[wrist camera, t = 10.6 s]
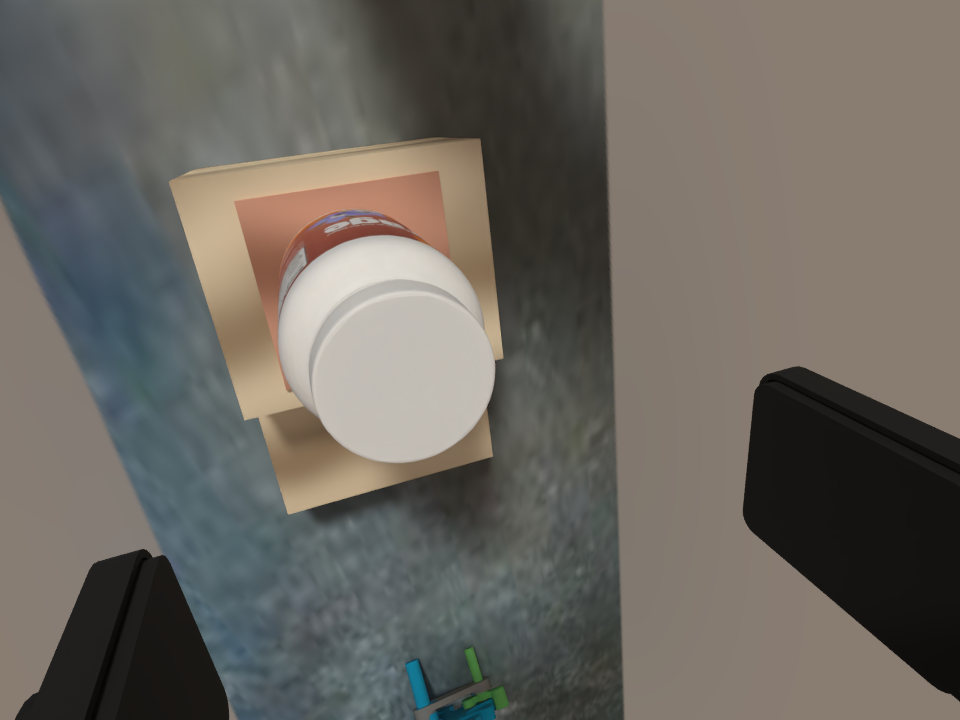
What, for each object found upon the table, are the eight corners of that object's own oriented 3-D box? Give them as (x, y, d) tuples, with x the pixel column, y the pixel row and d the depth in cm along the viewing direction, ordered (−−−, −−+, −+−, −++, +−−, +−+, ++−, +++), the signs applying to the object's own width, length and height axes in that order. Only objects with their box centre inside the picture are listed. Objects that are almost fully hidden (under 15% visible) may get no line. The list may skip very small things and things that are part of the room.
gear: (359, 768, 44) (378, 798, 35) (339, 684, 46) (353, 694, 37) (488, 705, 48) (533, 719, 40) (466, 632, 50) (504, 629, 42)
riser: (195, 169, 28) (167, 181, 21) (433, 137, 31) (481, 138, 24) (286, 476, 35) (289, 565, 28) (472, 426, 38) (518, 495, 31)
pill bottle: (448, 237, 25) (562, 305, 15) (399, 366, 26) (473, 507, 16) (304, 181, 22) (326, 219, 12) (257, 327, 23) (245, 466, 14)
